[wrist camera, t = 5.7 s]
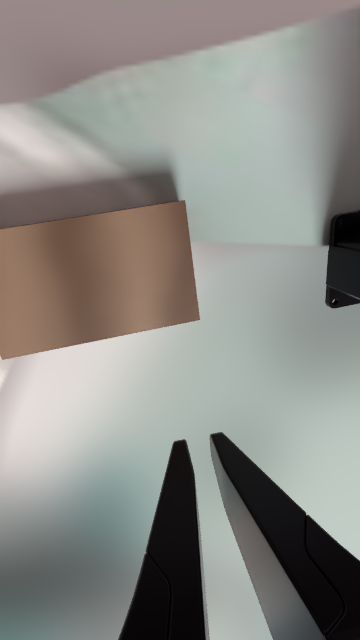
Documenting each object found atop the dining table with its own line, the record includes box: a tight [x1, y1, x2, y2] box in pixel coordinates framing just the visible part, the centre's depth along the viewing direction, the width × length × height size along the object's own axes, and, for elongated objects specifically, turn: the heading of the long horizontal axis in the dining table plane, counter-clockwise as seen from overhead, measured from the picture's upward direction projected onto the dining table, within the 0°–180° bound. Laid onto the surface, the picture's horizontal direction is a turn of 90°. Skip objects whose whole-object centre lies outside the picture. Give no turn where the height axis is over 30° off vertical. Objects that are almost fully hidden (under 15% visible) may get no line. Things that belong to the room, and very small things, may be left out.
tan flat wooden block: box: [0, 200, 200, 360], centre depth 16 cm, size 12×7×2 cm, turn 98°
